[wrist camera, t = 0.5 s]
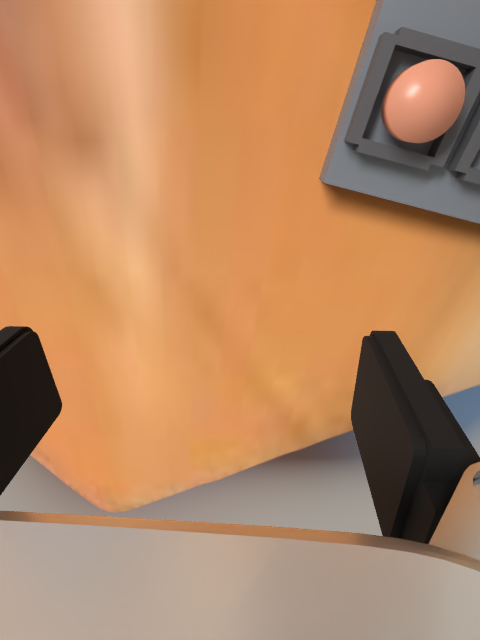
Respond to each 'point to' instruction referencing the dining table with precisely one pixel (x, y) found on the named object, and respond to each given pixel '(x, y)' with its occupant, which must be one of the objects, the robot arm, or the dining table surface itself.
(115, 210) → the dining table surface
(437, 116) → the terracotta button
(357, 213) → the dining table surface
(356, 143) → the button panel
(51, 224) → the dining table surface
